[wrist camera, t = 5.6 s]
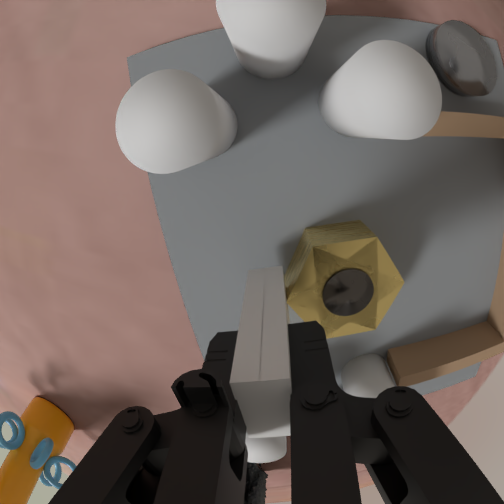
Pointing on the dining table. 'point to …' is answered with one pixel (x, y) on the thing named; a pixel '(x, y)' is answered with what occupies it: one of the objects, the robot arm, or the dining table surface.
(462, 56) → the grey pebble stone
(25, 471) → the cylinder
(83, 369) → the dining table surface
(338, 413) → the robot arm
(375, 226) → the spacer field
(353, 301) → the nut
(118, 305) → the dining table surface
